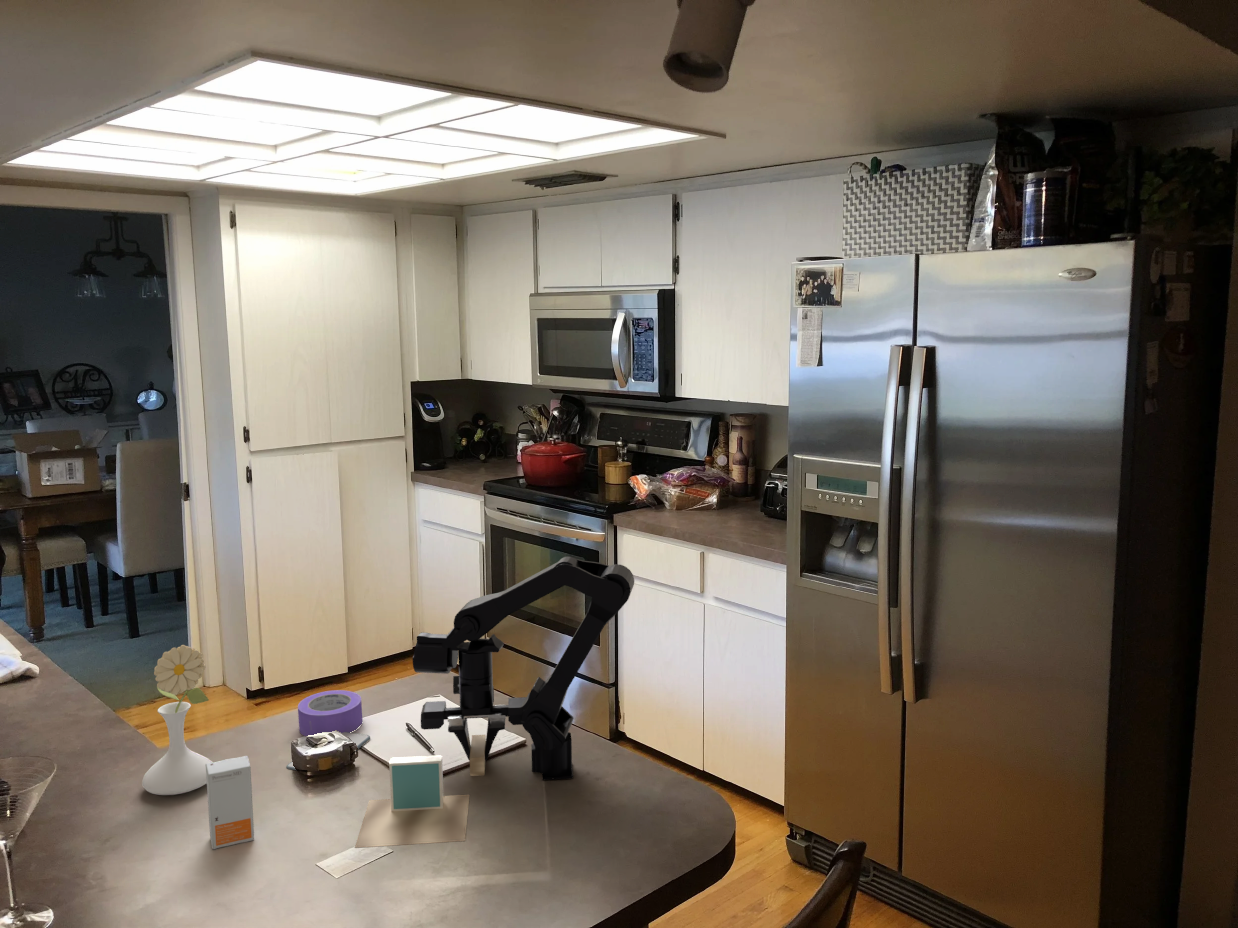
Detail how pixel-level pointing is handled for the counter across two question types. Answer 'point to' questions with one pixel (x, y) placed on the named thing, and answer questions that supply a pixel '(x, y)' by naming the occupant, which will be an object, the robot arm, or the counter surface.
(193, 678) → the flower in vase
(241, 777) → the skincare box
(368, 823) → the tan flat board
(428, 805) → the tile
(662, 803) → the counter surface
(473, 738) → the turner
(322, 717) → the tape roll
